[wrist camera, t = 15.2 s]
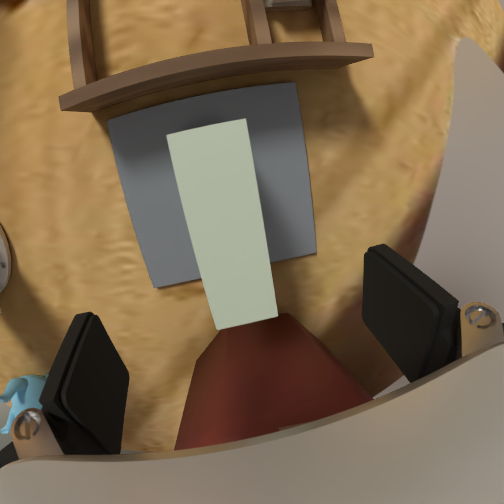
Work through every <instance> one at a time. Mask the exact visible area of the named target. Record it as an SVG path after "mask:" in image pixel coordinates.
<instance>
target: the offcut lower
mask: <svg viewBox="0 0 504 504" xmlns="http://www.w3.org/2000/svg"><path fill="white" fill-rule="evenodd" d="M263 3H264V7H265V11H279V10H308V9H309V8H310V7H311V6H312V3H311V0H300V1H290V2H281V3H273V4H271V3H270V1H269V0H263Z"/></svg>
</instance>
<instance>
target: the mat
mask: <svg viewBox="0 0 504 504" xmlns="http://www.w3.org/2000/svg"><path fill="white" fill-rule="evenodd" d="M240 119H246V122H247V128H248V134H249V139H250V145H251V151H252V157H253V163H254V168H255V174H256V180H257V186H258V192H259V198H260V204H261V210H262V216H263V222H264V229H265V235H266V241H267V247H268V254H269V260H270V263H272V262H277V261H281V260H285V259H290V258H294V257H299V256H303V255H307V254H312V253H316V241H315V230H314V219H313V208H312V198H311V189H310V180H309V171H308V163H307V155H306V147H305V140H304V133H303V126H302V119H301V112H300V106H299V99H298V93H297V87H296V82H291V83H280V84H270V85H262V86H254V87H246V88H240V89H233V90H227V91H221V92H216V93H210V94H205V95H200V96H195V97H190V98H186V99H181V100H177V101H173V102H169V103H165V104H161V105H157V106H153V107H149V108H146V109H142V110H139V111H135V112H132V113H129V114H125V115H122V116H119V117H116V118H113V119H110V120H107V124H108V129H109V134H110V139H111V143H112V148H113V152H114V156H115V161H116V165H117V169H118V173H119V177H120V181H121V185H122V188H123V192H124V196H125V199H126V203H127V207H128V210H129V213H130V217H131V220H132V224H133V227H134V230H135V233H136V237H137V240H138V243H139V246H140V249H141V252H142V255H143V258H144V261H145V264H146V267H147V270H148V273H149V276H150V279H151V281H152V284H153V287H154V288H157V287H162V286H167V285H171V284H176V283H181V282H185V281H190V280H195V279H199V278H201V275H200V271H199V267H198V264H197V260H196V257H195V253H194V249H193V245H192V242H191V238H190V234H189V230H188V226H187V222H186V218H185V214H184V210H183V206H182V202H181V198H180V194H179V190H178V186H177V181H176V177H175V173H174V168H173V164H172V159H171V155H170V150H169V146H168V141H167V136H166V135H169V134H173V133H177V132H181V131H185V130H190V129H194V128H199V127H203V126H208V125H213V124H218V123H223V122H228V121H234V120H240Z"/></svg>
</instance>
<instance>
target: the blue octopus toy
mask: <svg viewBox="0 0 504 504" xmlns="http://www.w3.org/2000/svg"><path fill="white" fill-rule="evenodd" d="M48 375H49V373H47V374H45V377H42V376H38V375H26V376H22V377H17V378H13V379H12V380H10V381H9V383H8V384H7V387H6V389H5V391H4V393H3V394H2V395H0V401H1V402H4V403H6V402H8V401H10V400H11V398H12V408H11V410H10V413H9V417H8V421H7V424H6V426H5V427H4V428H2V429H1V430H0V432H1V433H3V434H6V433H9V432H10V431H11V425H12V423H13V421H14V419H15V418H16V416H17V415H18V414H19V413H21V412H22V411H24V410H25V409H28V408H37V409H39V410H41V408H42V405H41V404H40V402H39V398H40V395H41V393H42V390H43V388H44V385H45V382H46V380H47V377H48Z"/></svg>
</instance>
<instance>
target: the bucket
mask: <svg viewBox="0 0 504 504" xmlns="http://www.w3.org/2000/svg"><path fill="white" fill-rule="evenodd" d="M372 400H374V399H373V398H372V397H371V396H370V395H369V394H368V393H367V392H366V391H365V389H364V388H363V387H362V386H361V385H360V384H359V383H358V382H357V381H356V380H355V379H354V378H353V376H352V375H351V374H350V373H349V372H348V371H347V370H346V369H345V368H344V367H343V366H342V364H341V363H340V362H339V361H338V360H337V359H336V358H335V357H334V356H333V355H332V354H331V352H330V351H329V350H328V349H327V348H326V347H325V346H324V345H323V344H322V343H321V342H320V341H319V340H318V339H317V338H316V337H315V336H314V335H312V334H311V333H310V332H309V331H308V330H307V329H306V328H305V327H303V326H302V325H301V324H300V323H299V322H298V321H297V320H296V319H294V318H293V317H292V316H291V315H290V314H289V313H286V314H280V315H278V316H277V317H273V318H269V319H265V320H260V321H256V322H252V323H247V324H243V325H238V326H234V327H229V328H225V329H221V330H220V332H219V333H218V334H217V335H216V337H215V338H214V339H213V340H212V342H211V343H210V344H209V346H208V347H207V348H206V349H205V351H204V352H203V353H202V354H201V356H200V357H199V358H198V359H197V361H196V364H195V368H194V372H193V376H192V380H191V384H190V388H189V392H188V395H187V399H186V403H185V407H184V411H183V416H182V420H181V424H180V428H179V432H178V436H177V440H176V444H175V449H174V451H176V450H184V449H192V448H199V447H206V446H212V445H218V444H224V443H229V442H234V441H239V440H244V439H249V438H253V437H258V436H262V435H266V434H270V433H274V432H278V431H282V430H286V429H289V428H293V427H296V426H300V425H303V424H307V423H310V422H313V421H316V420H319V419H322V418H325V417H328V416H331V415H334V414H337V413H340V412H343V411H346V410H348V409H351V408H354V407H356V406H359V405H362V404H364V403H367V402H369V401H372Z"/></svg>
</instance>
